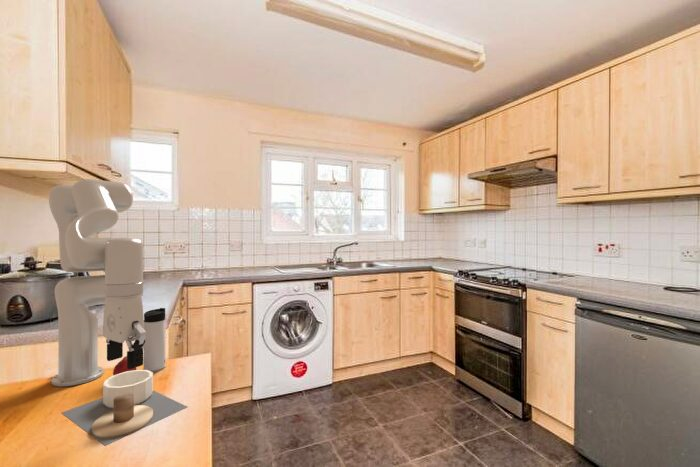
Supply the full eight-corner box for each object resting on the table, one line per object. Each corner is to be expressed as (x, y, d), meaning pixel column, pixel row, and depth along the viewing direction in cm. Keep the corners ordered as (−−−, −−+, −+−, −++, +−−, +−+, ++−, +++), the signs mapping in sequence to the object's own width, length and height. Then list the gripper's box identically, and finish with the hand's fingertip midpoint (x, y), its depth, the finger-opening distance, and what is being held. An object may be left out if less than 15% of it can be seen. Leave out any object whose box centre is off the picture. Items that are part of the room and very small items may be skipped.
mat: (61, 415, 83) (61, 412, 83) (140, 386, 99) (140, 384, 99) (105, 448, 70) (105, 445, 70) (187, 409, 86) (187, 406, 86)
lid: (82, 427, 77) (82, 401, 77) (137, 404, 87) (137, 381, 87) (106, 444, 71) (106, 416, 71) (163, 418, 81) (163, 393, 81)
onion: (124, 388, 97) (124, 361, 97) (108, 386, 98) (108, 359, 98) (140, 379, 103) (140, 354, 103) (124, 378, 104) (125, 352, 104)
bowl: (96, 401, 89) (96, 380, 89) (140, 385, 98) (140, 366, 98) (115, 413, 83) (116, 391, 83) (160, 395, 92) (160, 375, 92)
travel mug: (170, 367, 112) (170, 308, 112) (153, 375, 106) (153, 313, 106) (156, 365, 114) (156, 307, 114) (138, 372, 108) (139, 311, 108)
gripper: (89, 290, 80) (89, 361, 80) (125, 296, 71) (125, 376, 71) (124, 285, 87) (124, 351, 86) (160, 291, 77) (160, 364, 77)
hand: (124, 362), depth 79 cm, fingers open, 9 cm apart
